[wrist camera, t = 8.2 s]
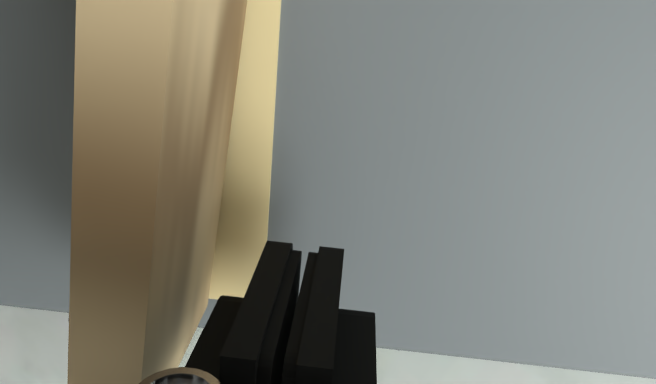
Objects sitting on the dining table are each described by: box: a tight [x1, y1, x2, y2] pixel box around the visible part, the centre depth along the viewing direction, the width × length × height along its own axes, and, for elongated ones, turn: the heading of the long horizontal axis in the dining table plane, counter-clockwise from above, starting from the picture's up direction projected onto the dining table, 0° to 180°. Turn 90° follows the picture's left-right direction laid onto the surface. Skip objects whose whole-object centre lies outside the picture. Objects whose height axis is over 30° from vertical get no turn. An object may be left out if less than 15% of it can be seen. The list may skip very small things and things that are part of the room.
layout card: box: [0, 0, 656, 379], centre depth 12 cm, size 22×14×1 cm, turn 85°
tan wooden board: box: [68, 0, 247, 384], centre depth 9 cm, size 12×2×5 cm, turn 169°
